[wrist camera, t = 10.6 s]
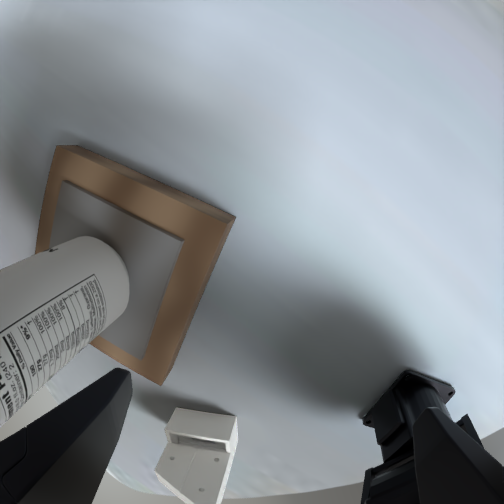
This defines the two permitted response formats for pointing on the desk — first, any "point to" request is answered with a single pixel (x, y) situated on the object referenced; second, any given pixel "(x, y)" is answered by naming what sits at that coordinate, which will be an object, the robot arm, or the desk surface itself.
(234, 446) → the white angled block
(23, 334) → the energy drink can
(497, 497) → the robot arm
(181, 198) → the brown square frame
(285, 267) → the desk surface
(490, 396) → the desk surface
